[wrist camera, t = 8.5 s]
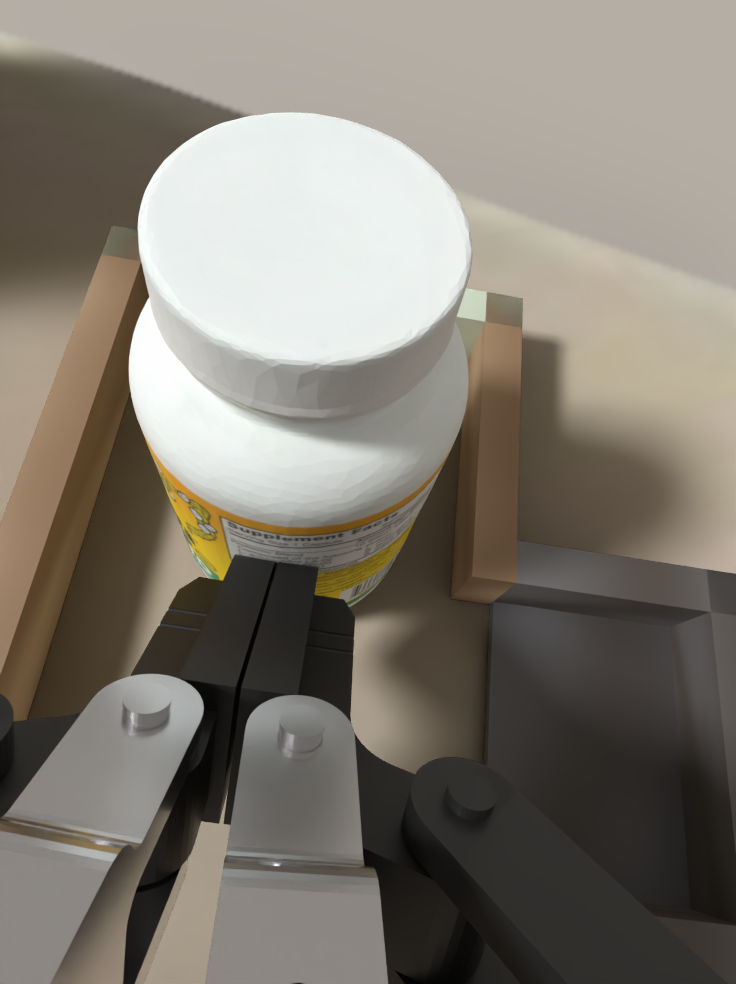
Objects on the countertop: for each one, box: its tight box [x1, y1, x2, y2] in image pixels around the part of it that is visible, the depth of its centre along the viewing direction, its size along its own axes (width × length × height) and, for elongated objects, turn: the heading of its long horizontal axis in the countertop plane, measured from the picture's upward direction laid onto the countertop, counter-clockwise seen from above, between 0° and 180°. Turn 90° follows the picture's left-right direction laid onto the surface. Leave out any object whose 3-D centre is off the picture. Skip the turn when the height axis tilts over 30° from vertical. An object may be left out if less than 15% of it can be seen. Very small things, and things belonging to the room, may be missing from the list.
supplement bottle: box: [129, 112, 472, 607], centre depth 12 cm, size 5×5×10 cm
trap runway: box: [0, 225, 736, 984], centre depth 13 cm, size 22×26×2 cm
